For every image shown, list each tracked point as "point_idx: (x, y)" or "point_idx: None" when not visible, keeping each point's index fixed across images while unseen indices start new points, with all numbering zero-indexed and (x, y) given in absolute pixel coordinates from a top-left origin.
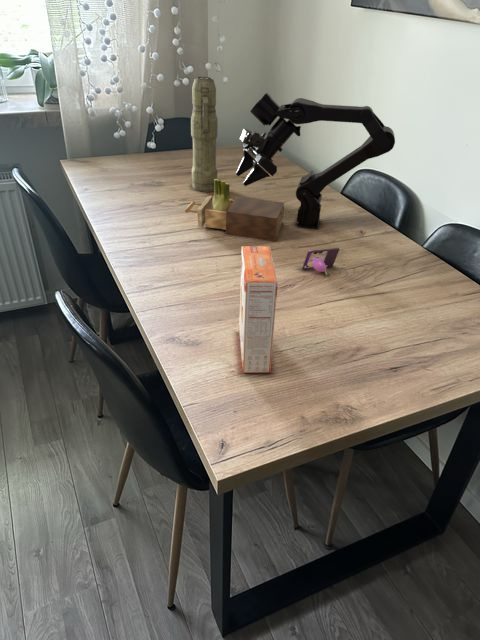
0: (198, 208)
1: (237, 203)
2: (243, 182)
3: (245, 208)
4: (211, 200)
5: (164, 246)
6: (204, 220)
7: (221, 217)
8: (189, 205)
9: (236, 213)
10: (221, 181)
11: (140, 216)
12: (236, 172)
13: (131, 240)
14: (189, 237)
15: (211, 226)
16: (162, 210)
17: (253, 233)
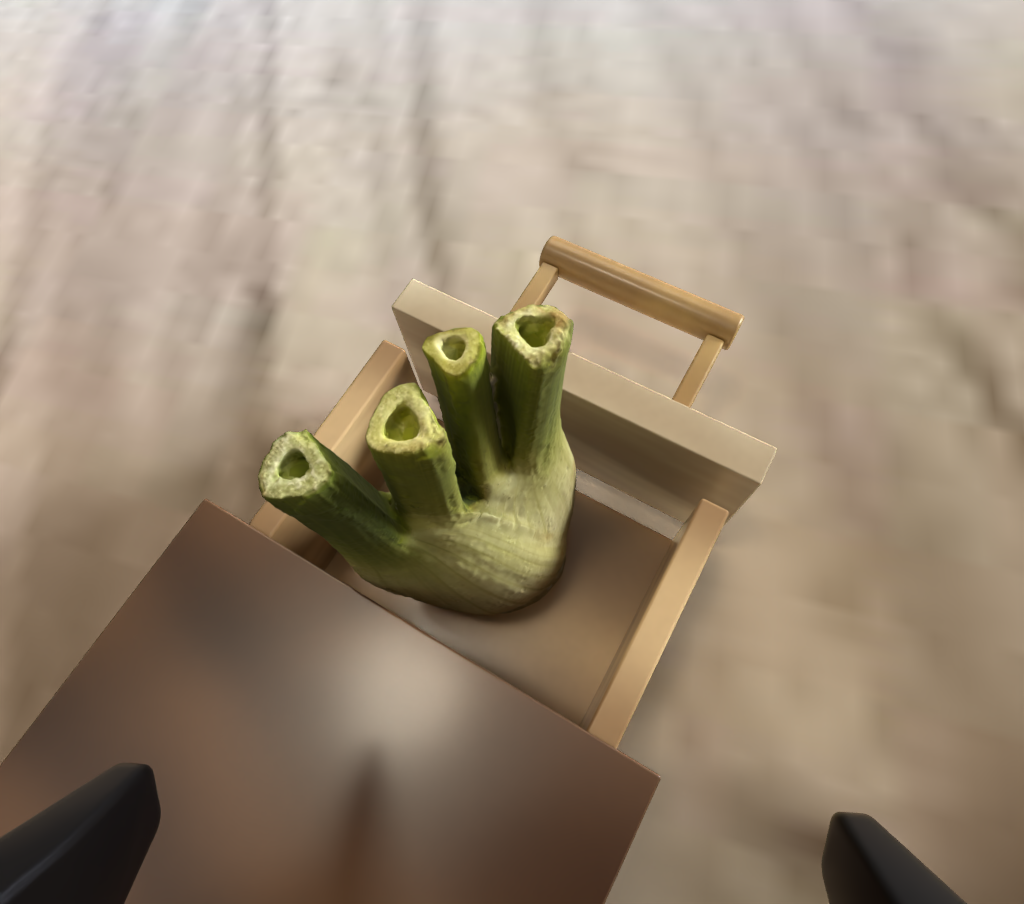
0: (427, 286)
1: (397, 703)
2: (124, 775)
3: (206, 761)
4: (710, 477)
5: (249, 159)
6: None
7: None
8: (628, 273)
9: (131, 603)
10: (402, 384)
11: (721, 84)
12: (867, 834)
13: (380, 31)
14: (324, 300)
15: None
16: (828, 205)
17: None
